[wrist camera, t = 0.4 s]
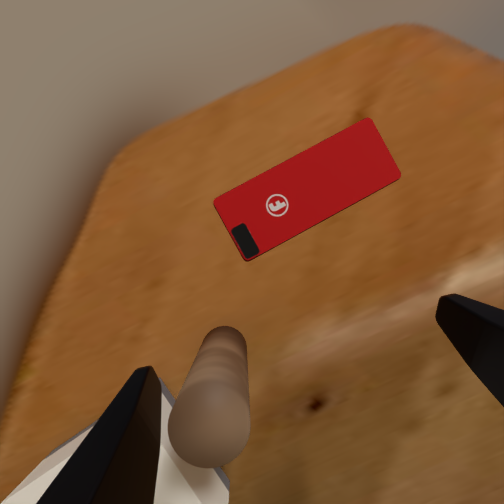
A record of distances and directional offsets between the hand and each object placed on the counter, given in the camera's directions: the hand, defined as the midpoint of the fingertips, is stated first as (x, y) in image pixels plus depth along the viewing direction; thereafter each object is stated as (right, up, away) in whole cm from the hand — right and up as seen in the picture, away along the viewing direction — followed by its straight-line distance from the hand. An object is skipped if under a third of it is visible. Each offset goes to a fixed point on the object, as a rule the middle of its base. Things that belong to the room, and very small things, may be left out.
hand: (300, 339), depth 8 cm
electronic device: (+3, +8, +15) cm, 17 cm away
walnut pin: (-4, -5, +14) cm, 15 cm away
